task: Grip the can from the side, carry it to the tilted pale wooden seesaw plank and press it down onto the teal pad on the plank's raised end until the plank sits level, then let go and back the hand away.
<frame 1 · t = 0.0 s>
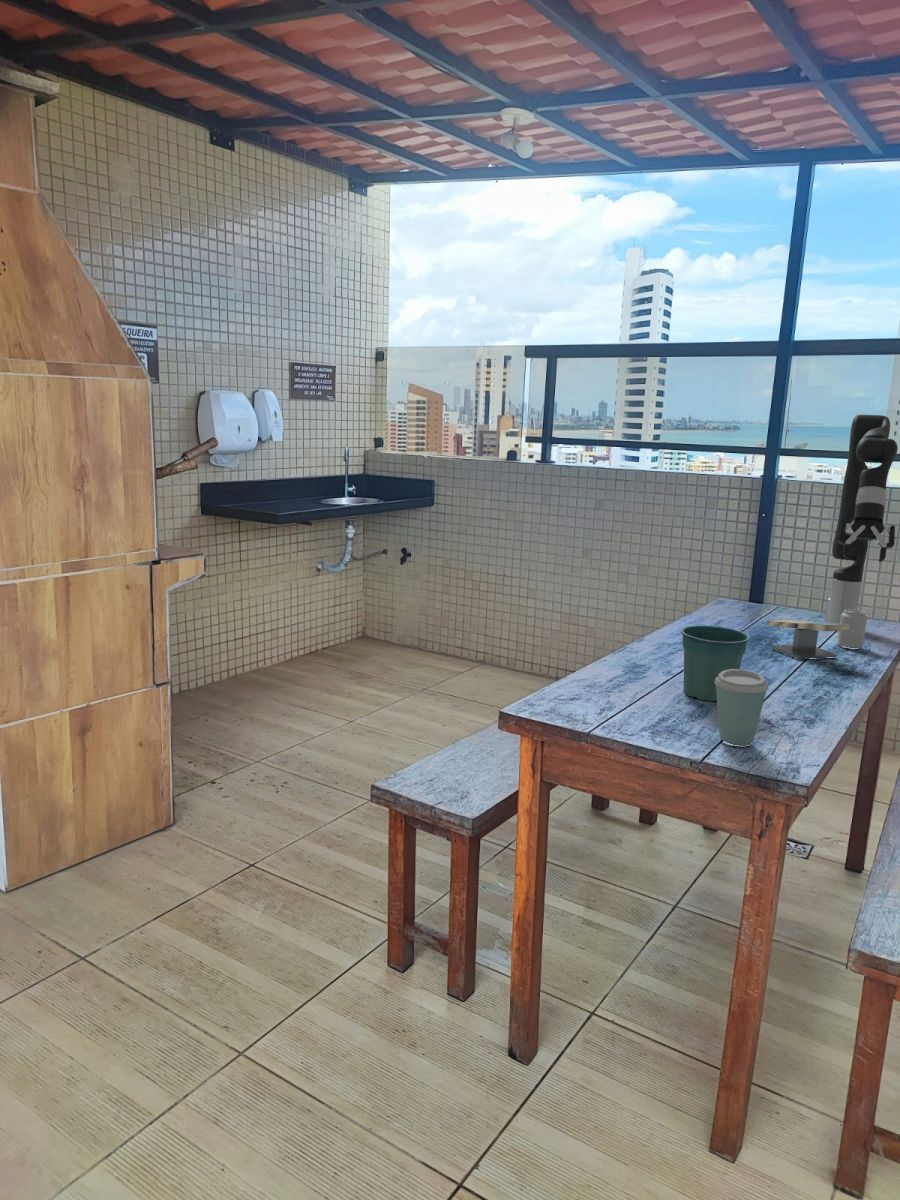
hand: (863, 560, 238), 31 cm above the table, tool tilted 20°, fingers open, 8 cm apart
flower pot: (708, 695, 211), on the table
can: (849, 647, 268), on the table
disposable coffee cup: (734, 743, 179), on the table
stand: (803, 654, 256), on the table
beam: (806, 624, 255), point 9 cm above the table, hinge at -10.0°
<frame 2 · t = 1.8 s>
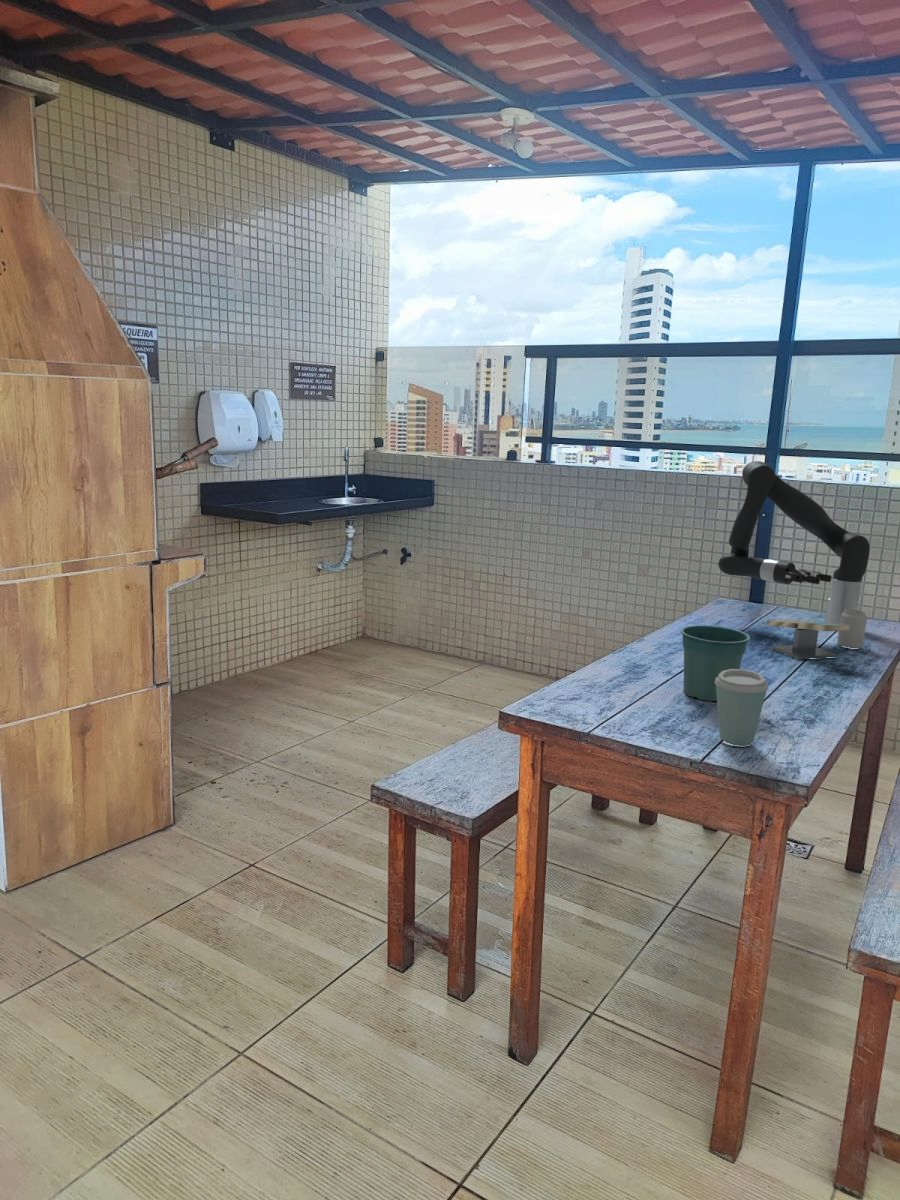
hand: (825, 579, 271), 20 cm above the table, tool horizontal, fingers open, 8 cm apart
nothing on the table moved.
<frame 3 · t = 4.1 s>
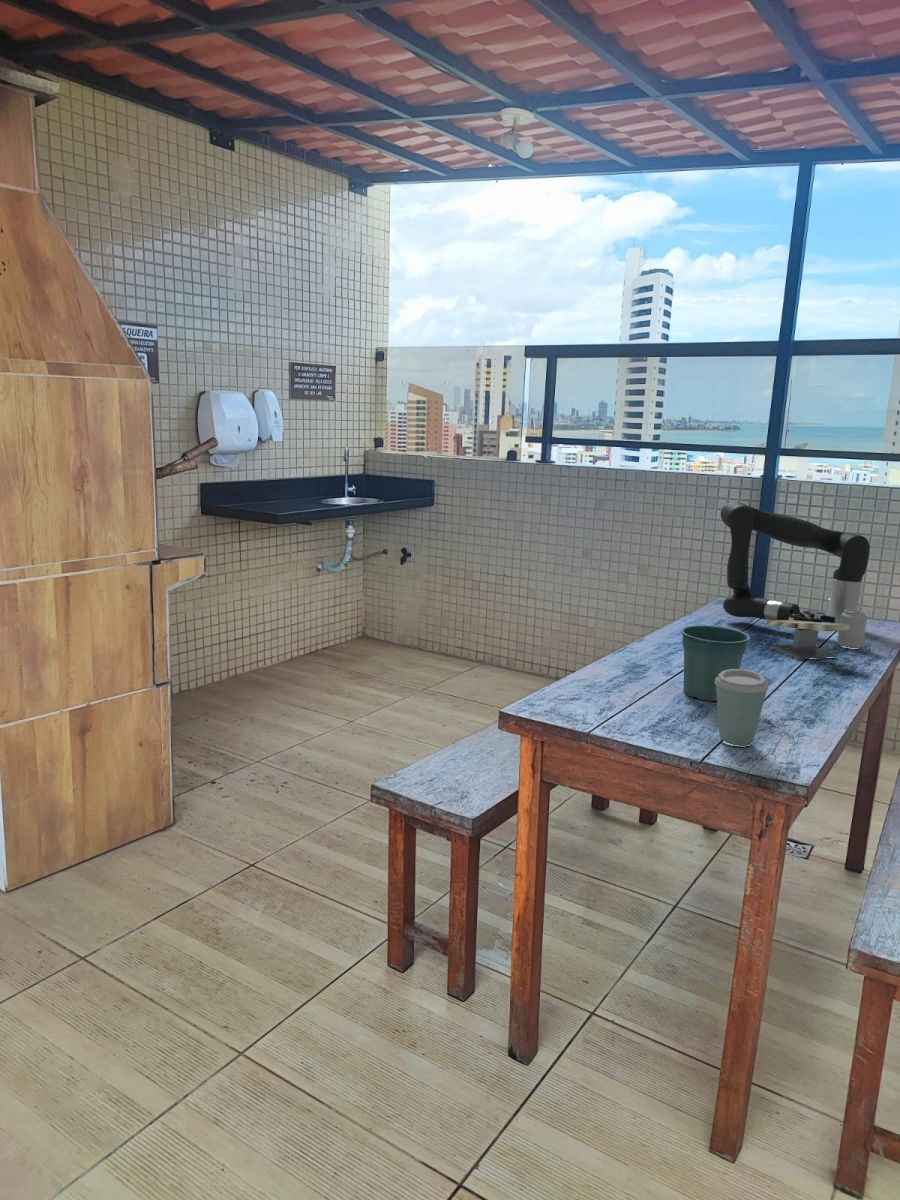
hand: (828, 622, 272), 7 cm above the table, tool horizontal, fingers open, 8 cm apart
nothing on the table moved.
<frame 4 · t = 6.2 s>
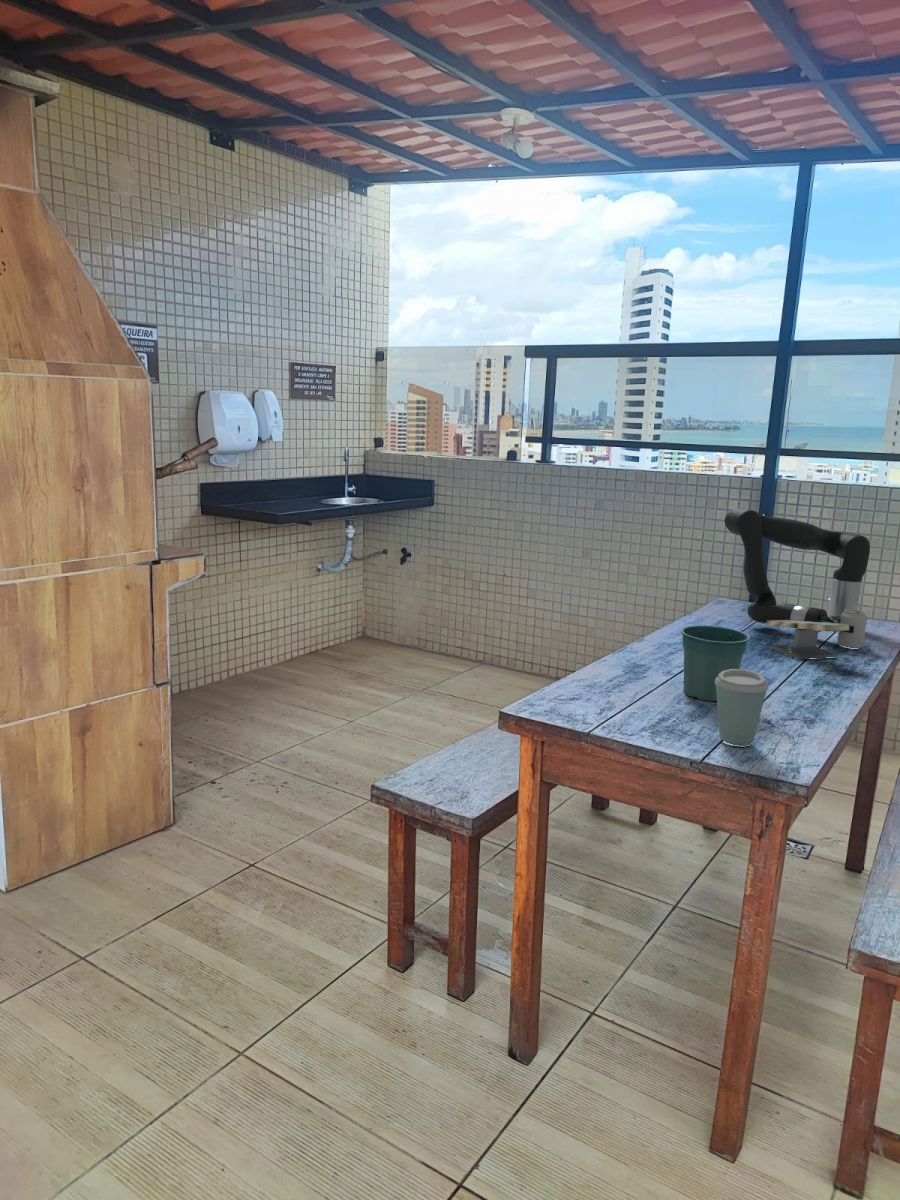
hand: (859, 628, 265), 7 cm above the table, tool horizontal, fingers closed on can, 7 cm apart
can: (849, 647, 268), on the table, touching gripper
everything else where it was.
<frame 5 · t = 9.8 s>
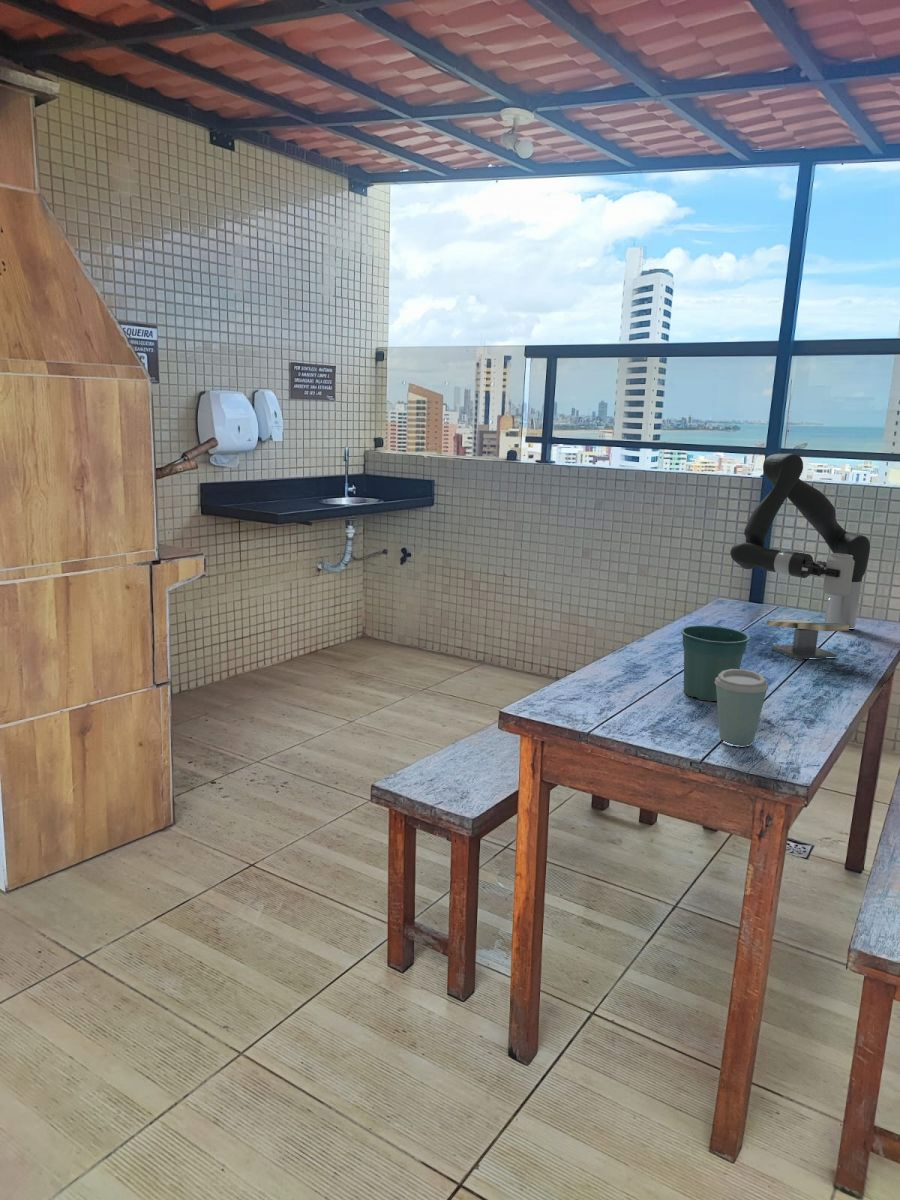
hand: (845, 573, 249), 26 cm above the table, tool horizontal, fingers closed on can, 7 cm apart
can: (835, 594, 252), point 19 cm above the table, touching gripper
everything else where it was.
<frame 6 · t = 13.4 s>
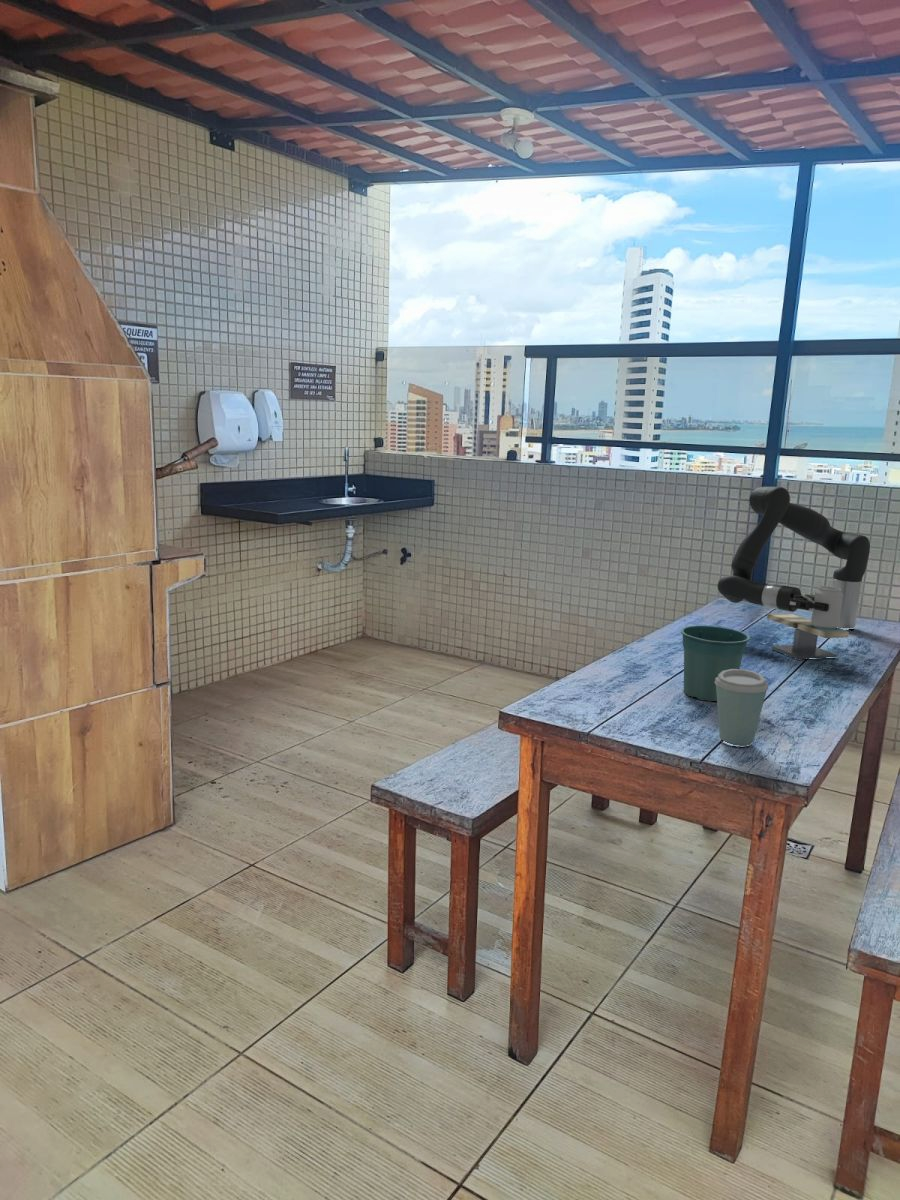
hand: (834, 606, 245), 17 cm above the table, tool horizontal, fingers closed on can, 7 cm apart
can: (824, 628, 248), point 10 cm above the table, touching beam, gripper
beam: (806, 624, 255), point 9 cm above the table, hinge at -0.7°, touching can
everything else where it was.
when the fingers open (17 cm above the table, at t = 13.5 s): can stays where it is, resting on beam.
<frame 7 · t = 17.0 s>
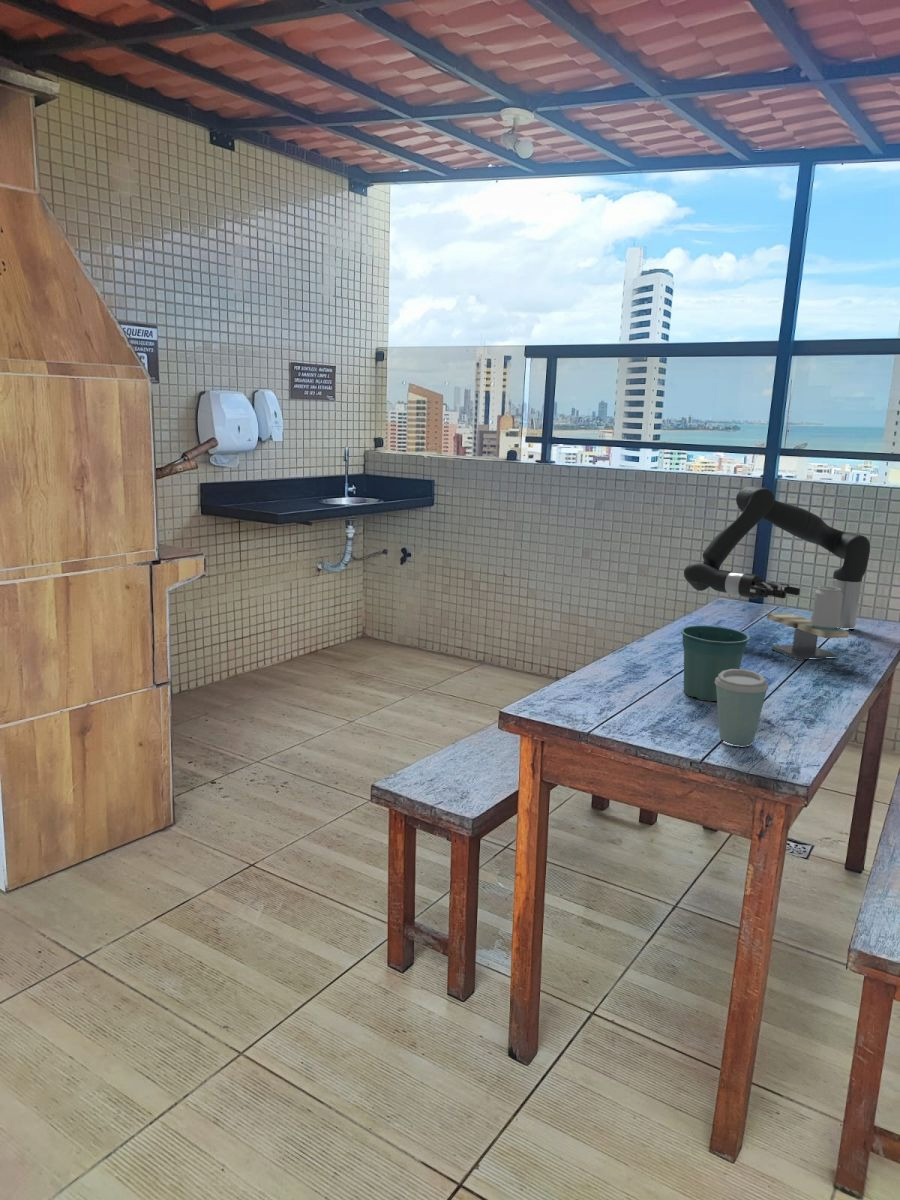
hand: (792, 593, 254), 18 cm above the table, tool horizontal, fingers open, 8 cm apart
can: (824, 628, 248), point 10 cm above the table, touching beam
everything else where it was.
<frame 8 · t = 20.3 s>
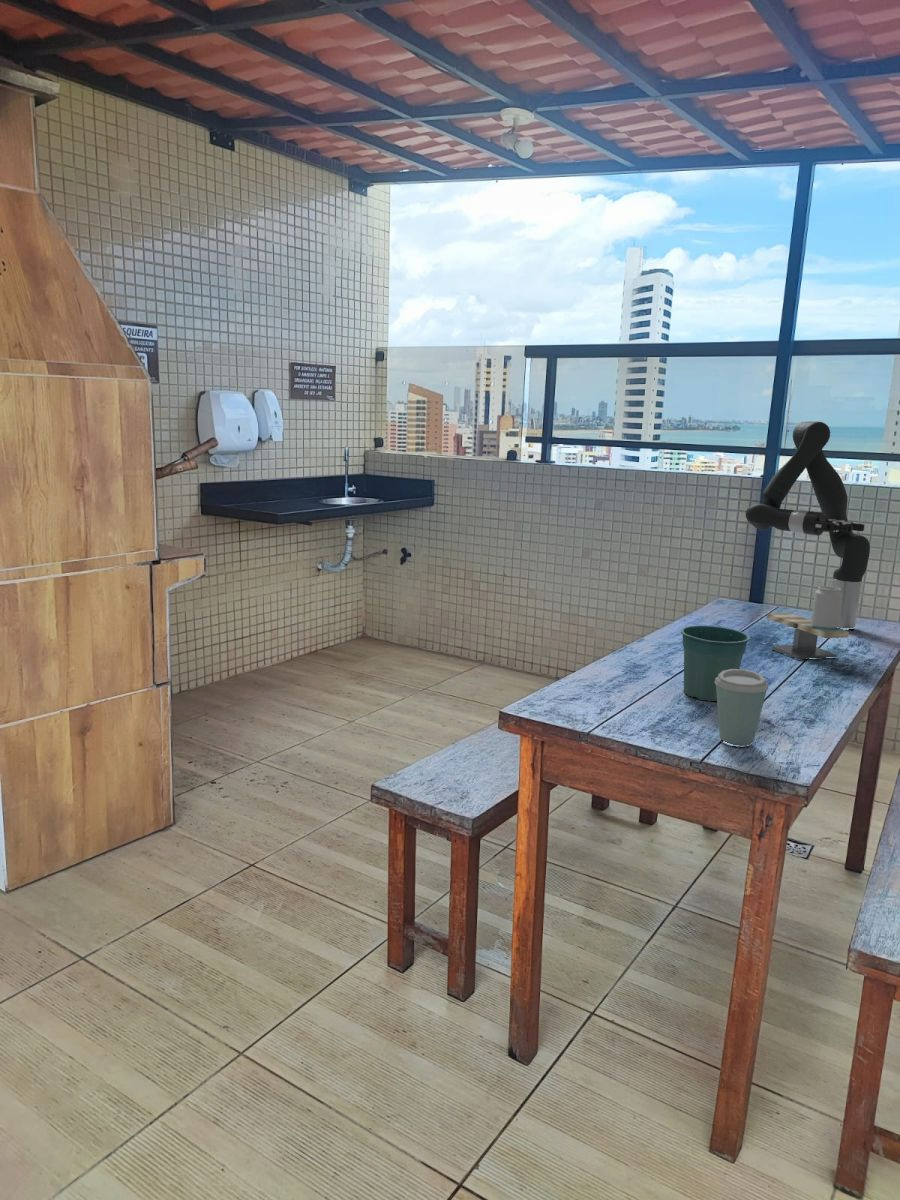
hand: (858, 528, 259), 38 cm above the table, tool horizontal, fingers open, 8 cm apart
nothing on the table moved.
at the end: beam at -1° (first picture: -10°); can inside the target area on the beam (0.2 cm from its centre), point 0.9 cm above the beam's base; can tilted 1° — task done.
